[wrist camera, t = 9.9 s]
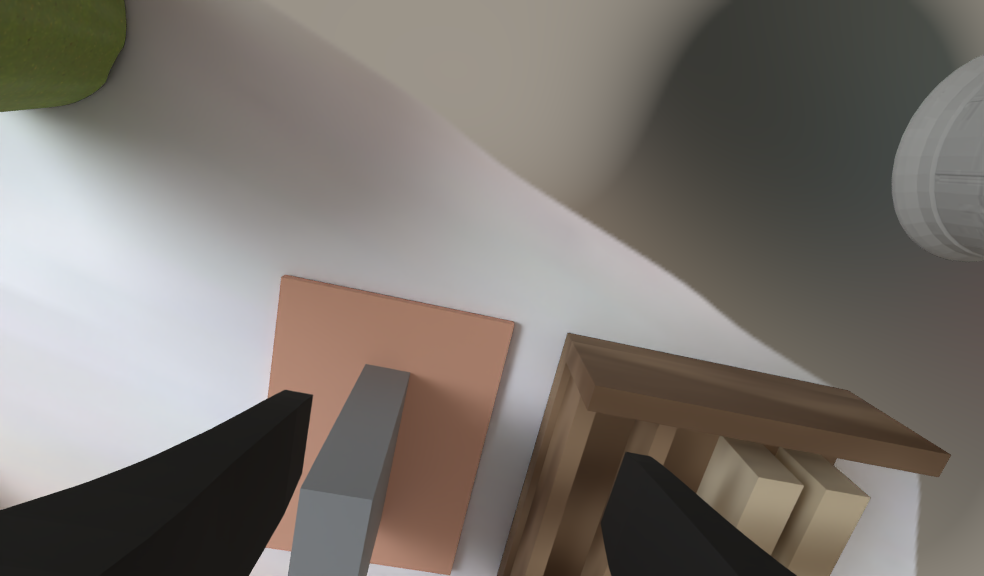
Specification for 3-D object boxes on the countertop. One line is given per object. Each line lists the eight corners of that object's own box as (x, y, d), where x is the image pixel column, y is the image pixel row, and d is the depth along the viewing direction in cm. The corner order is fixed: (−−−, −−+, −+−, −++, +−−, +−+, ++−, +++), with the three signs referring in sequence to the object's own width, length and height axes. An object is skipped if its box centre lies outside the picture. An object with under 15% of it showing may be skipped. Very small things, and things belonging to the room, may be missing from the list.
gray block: (381, 518, 23) (333, 702, 15) (340, 511, 23) (270, 695, 15) (410, 372, 21) (372, 499, 13) (365, 363, 21) (300, 488, 13)
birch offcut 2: (755, 584, 24) (794, 642, 21) (719, 578, 24) (753, 636, 21) (818, 452, 22) (871, 497, 19) (779, 445, 22) (826, 489, 19)
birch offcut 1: (701, 575, 24) (733, 633, 21) (664, 569, 24) (691, 627, 21) (760, 441, 22) (804, 485, 19) (720, 434, 21) (758, 477, 19)
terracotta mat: (450, 568, 24) (450, 575, 24) (254, 539, 23) (250, 545, 23) (513, 321, 21) (514, 324, 20) (285, 274, 20) (281, 276, 19)
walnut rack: (741, 612, 26) (803, 717, 21) (497, 575, 24) (502, 677, 20) (848, 390, 22) (951, 454, 17) (567, 332, 21) (595, 385, 16)
